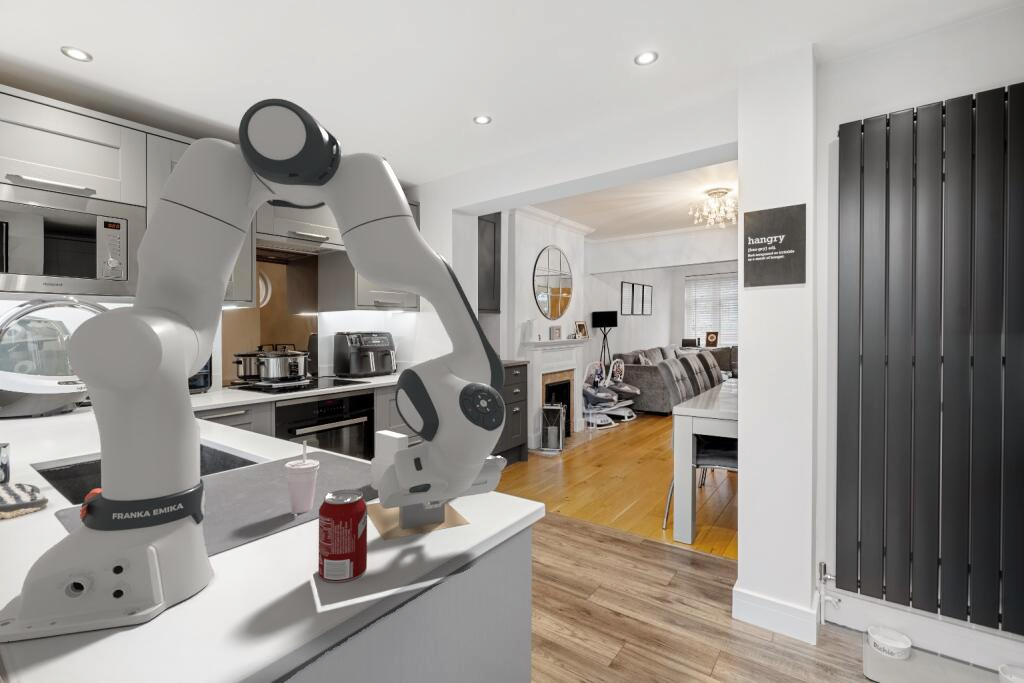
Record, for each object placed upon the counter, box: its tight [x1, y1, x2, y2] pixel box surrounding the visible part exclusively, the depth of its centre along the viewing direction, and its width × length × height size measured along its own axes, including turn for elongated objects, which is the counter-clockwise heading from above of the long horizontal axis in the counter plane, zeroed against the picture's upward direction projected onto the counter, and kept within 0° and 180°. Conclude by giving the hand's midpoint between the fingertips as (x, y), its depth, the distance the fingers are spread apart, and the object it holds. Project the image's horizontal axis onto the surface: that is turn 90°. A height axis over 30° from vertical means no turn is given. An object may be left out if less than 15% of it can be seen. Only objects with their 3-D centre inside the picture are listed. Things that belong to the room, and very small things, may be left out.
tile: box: [399, 502, 445, 530], centre depth 91 cm, size 8×2×10 cm, turn 118°
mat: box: [367, 501, 471, 541], centre depth 95 cm, size 16×18×1 cm
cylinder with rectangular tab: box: [370, 429, 409, 491], centre depth 114 cm, size 9×9×12 cm
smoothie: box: [284, 440, 320, 514], centre depth 97 cm, size 6×6×14 cm
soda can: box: [318, 488, 368, 584], centre depth 73 cm, size 7×7×12 cm
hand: (431, 504), depth 86 cm, fingers closed
